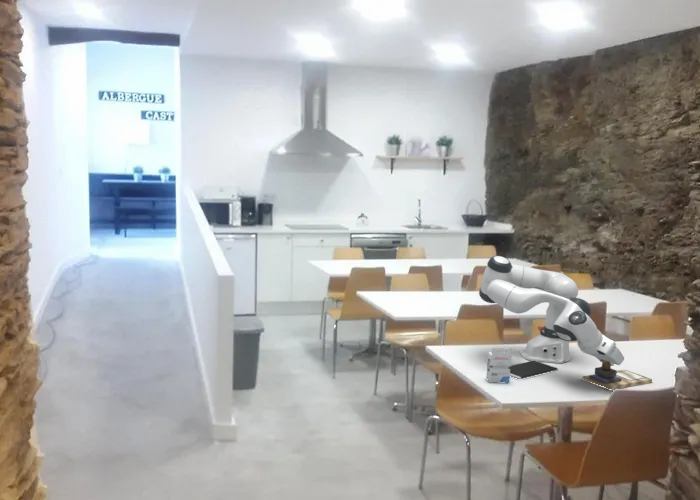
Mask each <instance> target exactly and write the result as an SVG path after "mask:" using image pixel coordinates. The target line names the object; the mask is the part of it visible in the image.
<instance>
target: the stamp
mask: <svg viewBox="0 0 700 500" xmlns="http://www.w3.org/2000/svg"><path fill="white" fill-rule="evenodd" d="M617 370H618V369H615V368H614V369H613V368H612V366H611V365H609V364H608V361H605V360H603V361H602V362H601V366H599V367H595V368H594V374H597V375H600V376H602V377H605V378H610V377H616V374H617Z"/></svg>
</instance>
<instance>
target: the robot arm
mask: <svg viewBox="0 0 700 500" xmlns="http://www.w3.org/2000/svg"><path fill="white" fill-rule="evenodd" d="M510 261H511V260H509V259H508V258H506V257H504V256H501V255H494V256H492V257H490V258H489V259H488V262H486V263H487V265H486V267H485V269H484V272H483V275H482V279H481V283H480V287H479V291H478V294H479V297H480V299H482V300H483V302H486V303H488V304H497V305H498V306H499V307H502V308H503V309H506V310H507V311H509V312H511V313H514V314H523V313H527V312H529V311H530V310H532V309H533V308H535V306H538V305H540V304H542V303H548V307H547V309H546V312H545V313H546V314H545V323H544V324H545V325H544V326H541V325H538V326H537V330H538V331H539V334H538V335H536V336H534V337H533V338H531V339H529V340H528V341H527V342H526V346H525V349H522V350H520V354H519V355H520V356H521V357H522V358H524V359H525V360H528V361H538V362H541V363H551V364H552V363H553V364H563V363H565V362H570V361H571V360H572V358H571V354H570V342H576V341H577V342H576V343H577V344H576V345H577V346H578V348H579V350H580V351H581V352H582V353H584V354H586V355H589V356H592V357H594V358H596V359H597V360H598V361H599V362H600V363H602V361H603V360H605V361H608V364H609V365H611V367H614V365H617V366H621V364H622V363H623V362H624V361H625V356H624V354H623V353H622V351H621V350H620V349H619V347H617V343H616V342H615V341H614V340H612V339H610V338H608V337H607V336H606V335H605V334H603V333H602V332H601V331H600V330H599V329H598V327H597V325H596V323H595V322H594V321H593V320H592V318H591V315H592V309H591V306H590V304H589V303H588V301H587V300H585V299H582V298H579V297H578V294H579V288H578V285H577V283H576V281H574V280H573V279H572V278H570V277H569V276H567V275H566V274H565V273H561V272H558V271H553V270H544V269H538V268H534V267H531V266H525V265H520V264H515V263H511V262H510Z"/></svg>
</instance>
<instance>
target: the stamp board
mask: <svg viewBox="0 0 700 500" xmlns="http://www.w3.org/2000/svg"><path fill="white" fill-rule="evenodd" d="M616 370H617V374H616V377H610V378H605V377H602V376H600V375H597V374H595V373H594V374H588V375H582V379H584V380H586V381H585V382H587V381H589V382H592V383H595V384H598V385H601V386H604V387H606V388H608V389H615V390H617V389H616V388H620V389H625V388H626V389H627V388H629V387H630V388H631V387H635V386H641V385H646V384H652V383H653V379H652V378H651V377H647V376H644V375H641V374H639V373H636V372H633V371H630V370H629V369H616ZM582 379H581V380H582ZM584 380H583V381H584ZM589 382H588V383H589ZM592 383H591V384H592Z"/></svg>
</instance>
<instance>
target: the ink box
mask: <svg viewBox="0 0 700 500" xmlns="http://www.w3.org/2000/svg"><path fill="white" fill-rule="evenodd" d="M500 351H501V352H500ZM511 363H512V348H511V347H509V348H508V347H492V349H491V351H488V352H487V362H486V364H487V365H486V376H485V378H487V379H488V380H487V379H486V380H487V381H488V383H490V382H509V383H510V378H511V377H510V367H511V366H512V365H511Z"/></svg>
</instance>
